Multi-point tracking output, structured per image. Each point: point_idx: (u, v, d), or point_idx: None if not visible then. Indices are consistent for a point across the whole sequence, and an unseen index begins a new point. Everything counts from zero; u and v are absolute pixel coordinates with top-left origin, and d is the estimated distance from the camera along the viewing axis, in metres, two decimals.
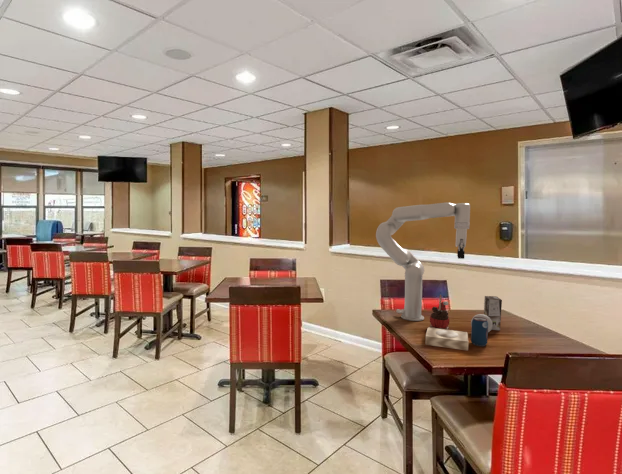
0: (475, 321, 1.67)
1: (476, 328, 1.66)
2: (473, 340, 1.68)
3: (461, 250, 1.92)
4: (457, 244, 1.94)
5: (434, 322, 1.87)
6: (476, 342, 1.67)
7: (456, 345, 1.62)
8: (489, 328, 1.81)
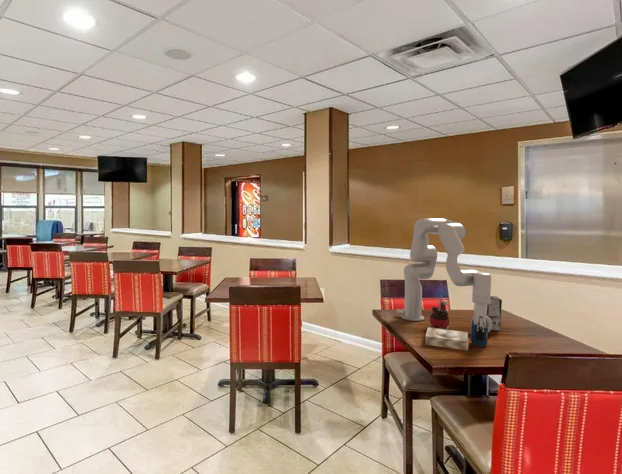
0: None
1: (476, 328, 1.66)
2: (473, 340, 1.68)
3: (480, 331, 1.64)
4: (476, 322, 1.65)
5: (434, 322, 1.87)
6: (476, 342, 1.67)
7: (456, 345, 1.62)
8: (489, 328, 1.81)
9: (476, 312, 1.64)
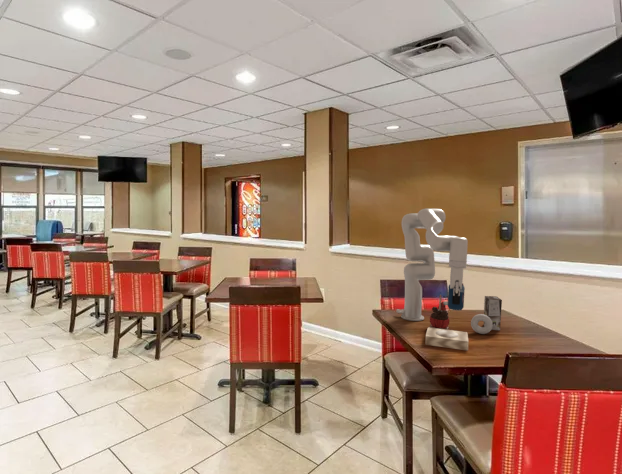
0: None
1: (452, 292, 1.67)
2: (449, 305, 1.68)
3: (456, 295, 1.64)
4: (452, 286, 1.65)
5: (434, 322, 1.87)
6: (452, 306, 1.67)
7: (456, 345, 1.62)
8: (489, 328, 1.81)
9: (452, 276, 1.64)
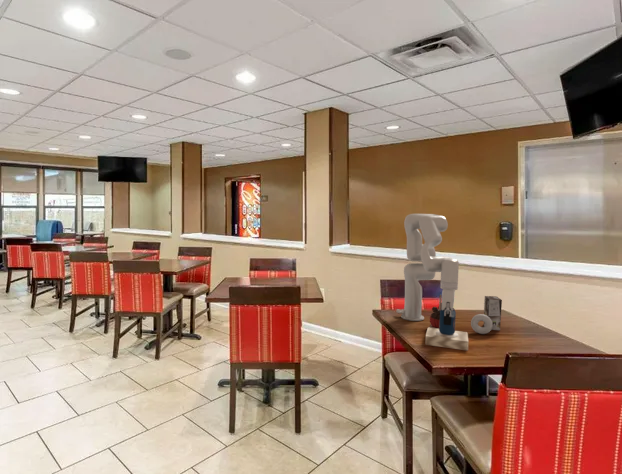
0: (443, 310, 1.68)
1: (443, 317, 1.68)
2: (441, 329, 1.69)
3: (447, 316, 1.64)
4: (443, 308, 1.66)
5: (434, 322, 1.87)
6: (443, 331, 1.68)
7: (456, 345, 1.62)
8: (489, 328, 1.81)
9: (443, 298, 1.65)
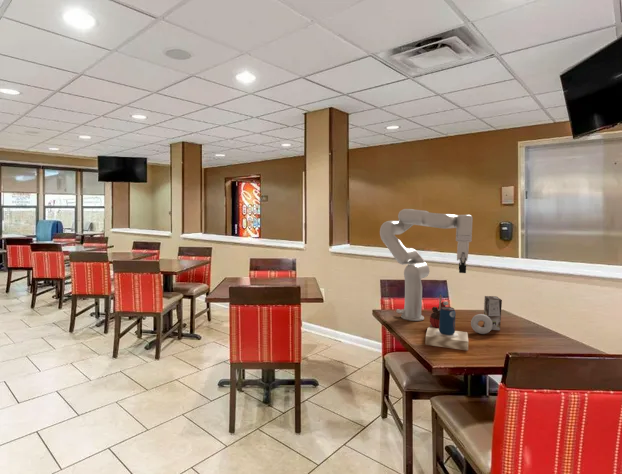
0: (442, 310, 1.68)
1: (443, 317, 1.68)
2: (441, 329, 1.69)
3: (463, 264, 1.83)
4: (458, 258, 1.85)
5: (434, 322, 1.87)
6: (443, 331, 1.68)
7: (456, 345, 1.62)
8: (489, 328, 1.81)
9: (459, 249, 1.85)
